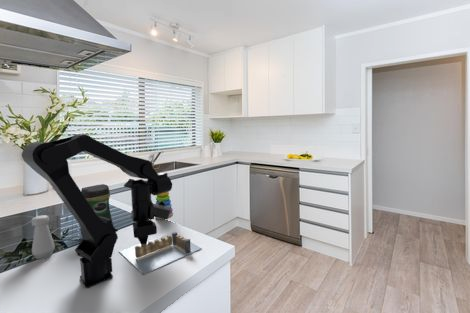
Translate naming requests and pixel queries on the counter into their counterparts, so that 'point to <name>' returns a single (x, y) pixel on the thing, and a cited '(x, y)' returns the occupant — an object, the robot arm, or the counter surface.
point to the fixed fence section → (181, 242)
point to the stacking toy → (167, 202)
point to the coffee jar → (98, 199)
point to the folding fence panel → (153, 246)
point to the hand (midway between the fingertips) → (144, 246)
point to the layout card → (156, 256)
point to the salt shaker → (42, 238)
